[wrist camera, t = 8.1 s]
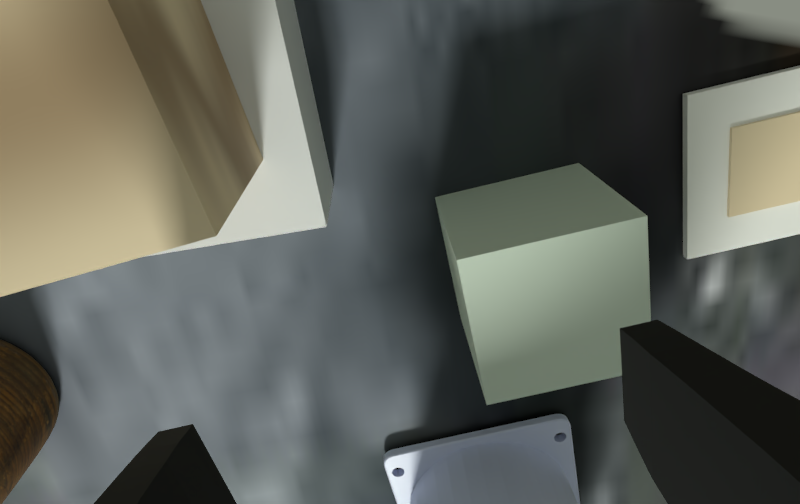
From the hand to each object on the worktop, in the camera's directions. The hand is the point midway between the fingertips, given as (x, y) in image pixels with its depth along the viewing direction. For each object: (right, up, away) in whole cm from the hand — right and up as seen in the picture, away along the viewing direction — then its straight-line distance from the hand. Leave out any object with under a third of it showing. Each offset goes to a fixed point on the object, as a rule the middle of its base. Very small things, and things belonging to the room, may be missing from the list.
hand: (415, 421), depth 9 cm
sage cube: (+4, +3, +10) cm, 12 cm away
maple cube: (-7, +7, +4) cm, 10 cm away
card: (+13, +6, +9) cm, 17 cm away
